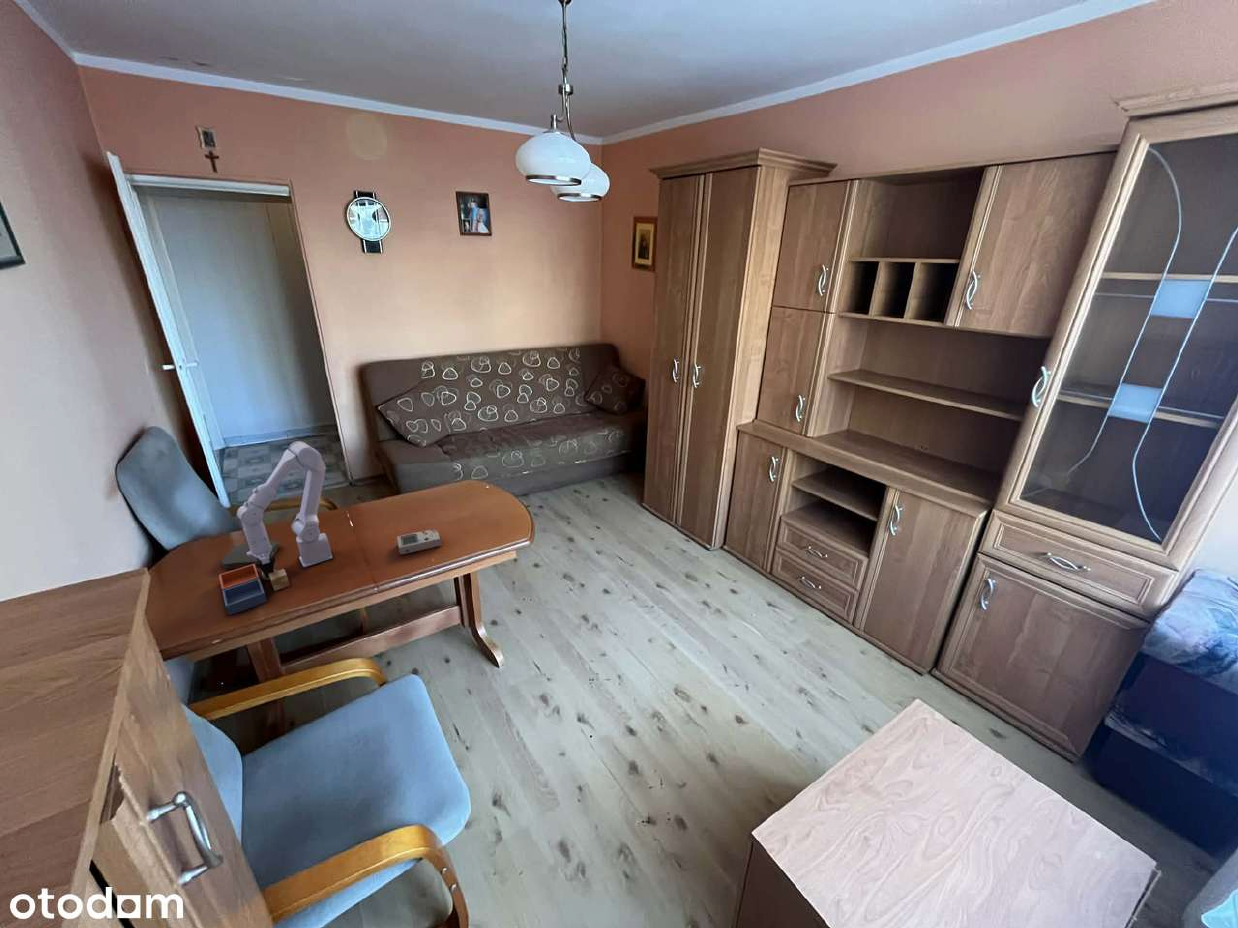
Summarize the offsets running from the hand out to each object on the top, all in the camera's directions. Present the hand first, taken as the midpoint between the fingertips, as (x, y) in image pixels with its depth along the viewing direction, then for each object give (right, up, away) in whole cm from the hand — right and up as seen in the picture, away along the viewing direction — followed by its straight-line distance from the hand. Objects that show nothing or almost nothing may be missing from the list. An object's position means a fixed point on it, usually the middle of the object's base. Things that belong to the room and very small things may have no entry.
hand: (268, 571), depth 174 cm
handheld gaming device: (+45, +6, +20) cm, 49 cm away
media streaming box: (-14, +3, +12) cm, 18 cm away
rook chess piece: (0, -2, +1) cm, 2 cm away
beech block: (+7, -4, -4) cm, 8 cm away
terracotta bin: (-7, -4, -3) cm, 8 cm away
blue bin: (+1, -7, -11) cm, 13 cm away
